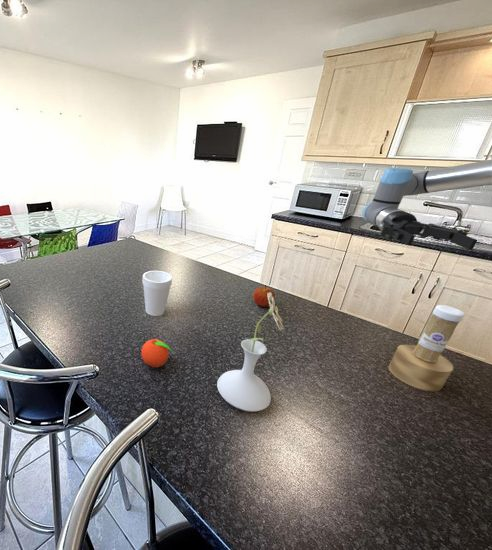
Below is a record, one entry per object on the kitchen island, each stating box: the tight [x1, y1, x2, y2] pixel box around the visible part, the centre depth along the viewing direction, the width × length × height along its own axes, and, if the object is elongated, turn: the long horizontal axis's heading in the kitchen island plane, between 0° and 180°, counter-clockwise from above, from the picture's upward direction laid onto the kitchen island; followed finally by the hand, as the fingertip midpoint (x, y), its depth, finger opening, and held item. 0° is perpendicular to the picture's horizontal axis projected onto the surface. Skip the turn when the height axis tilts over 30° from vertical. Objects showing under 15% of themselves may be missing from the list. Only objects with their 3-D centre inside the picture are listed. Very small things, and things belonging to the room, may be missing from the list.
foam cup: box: [142, 270, 173, 317], centre depth 97 cm, size 10×9×13 cm
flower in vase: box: [216, 292, 285, 413], centre depth 62 cm, size 13×11×25 cm
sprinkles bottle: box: [412, 304, 465, 363], centre depth 68 cm, size 5×5×13 cm
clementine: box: [140, 338, 174, 368], centre depth 74 cm, size 8×7×7 cm
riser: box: [388, 344, 454, 392], centre depth 72 cm, size 10×10×6 cm
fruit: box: [252, 284, 276, 308], centre depth 103 cm, size 7×7×8 cm
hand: (441, 242), depth 77 cm, fingers open, 13 cm apart
